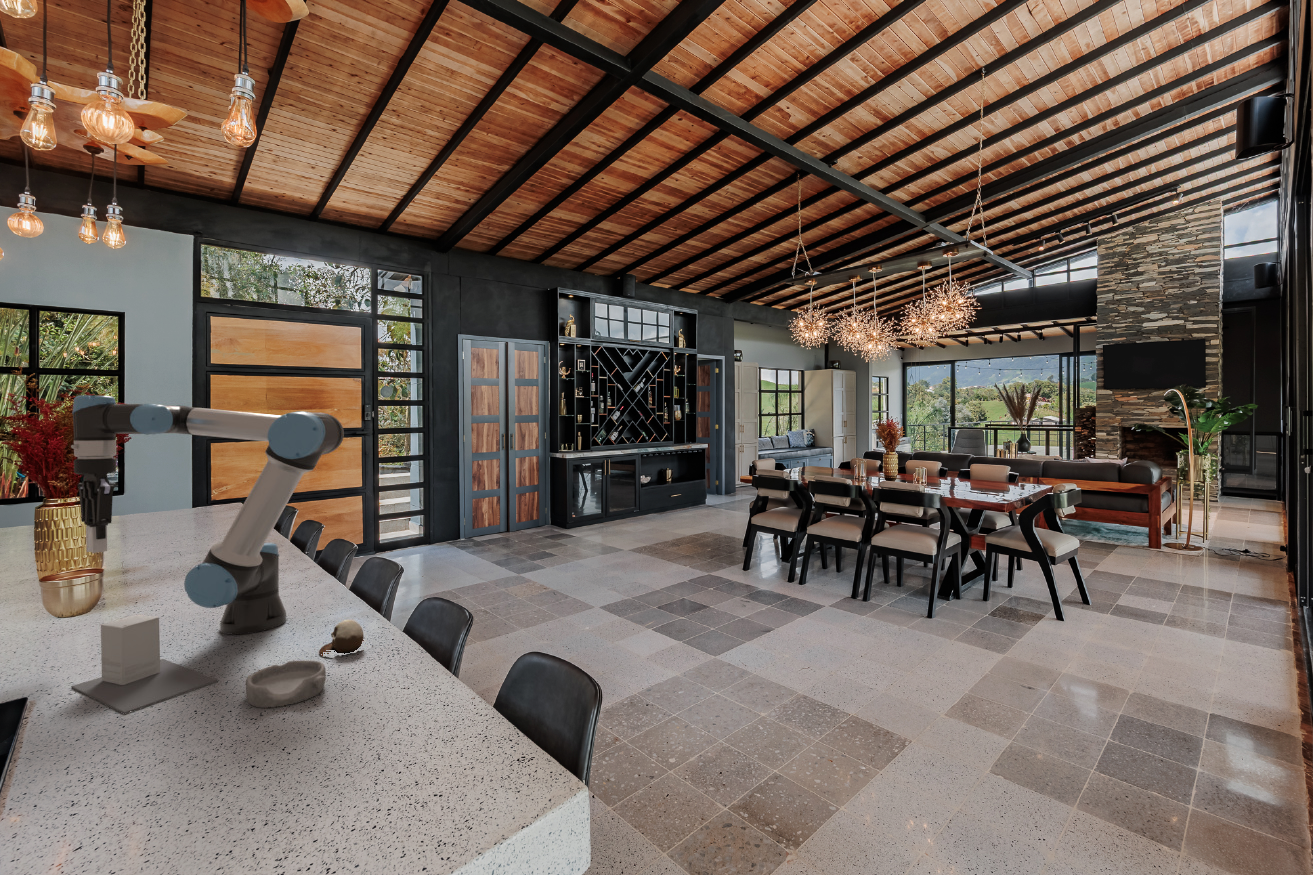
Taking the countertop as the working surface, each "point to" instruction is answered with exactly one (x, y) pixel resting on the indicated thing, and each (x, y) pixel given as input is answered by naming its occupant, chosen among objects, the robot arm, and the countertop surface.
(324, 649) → the skull
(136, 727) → the countertop surface
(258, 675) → the dish
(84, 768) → the countertop surface
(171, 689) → the mat
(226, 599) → the robot arm
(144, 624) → the supplement box
